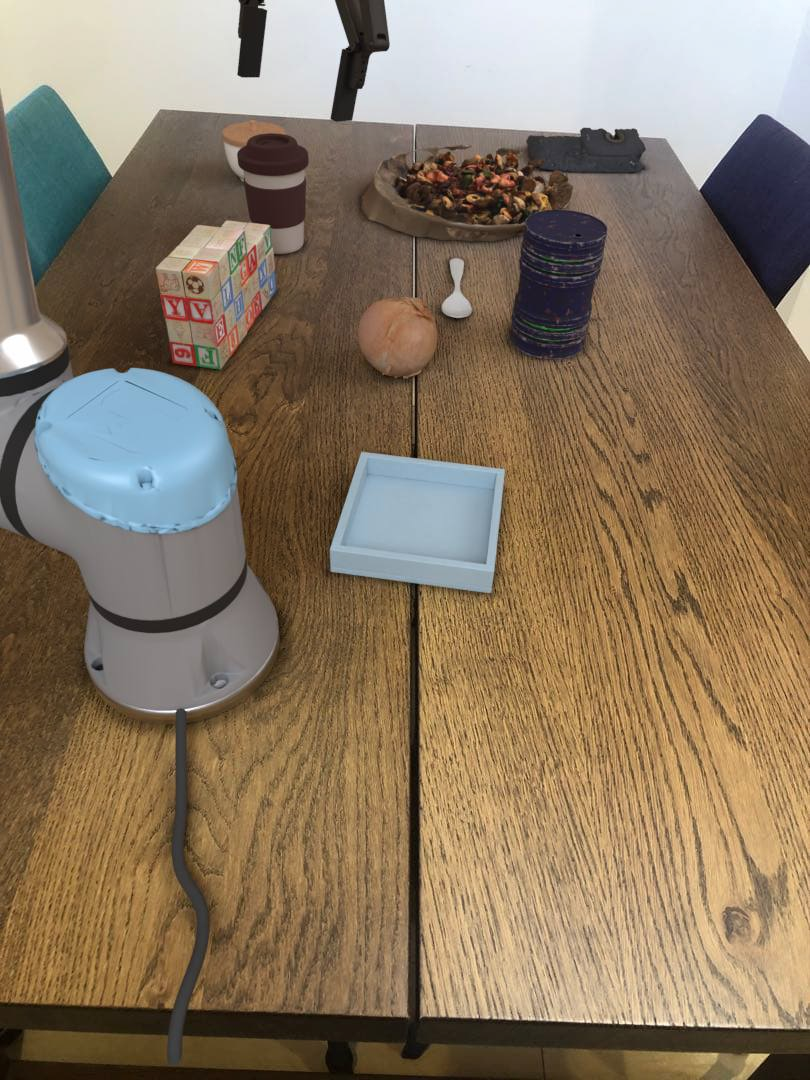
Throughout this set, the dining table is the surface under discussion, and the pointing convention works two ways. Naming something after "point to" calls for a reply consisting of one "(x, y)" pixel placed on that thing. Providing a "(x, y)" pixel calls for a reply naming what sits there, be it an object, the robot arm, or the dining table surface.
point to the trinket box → (244, 139)
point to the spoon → (456, 293)
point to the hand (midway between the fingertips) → (293, 98)
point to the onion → (398, 336)
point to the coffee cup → (276, 187)
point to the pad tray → (420, 522)
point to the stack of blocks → (215, 290)
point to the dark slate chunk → (589, 151)
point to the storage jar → (556, 282)
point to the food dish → (462, 195)
